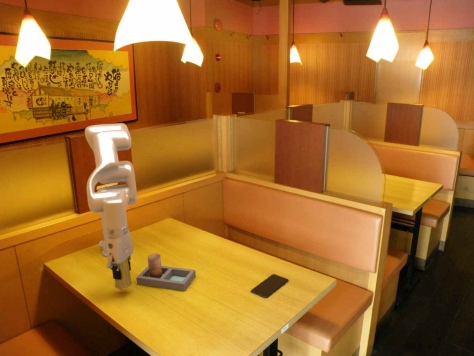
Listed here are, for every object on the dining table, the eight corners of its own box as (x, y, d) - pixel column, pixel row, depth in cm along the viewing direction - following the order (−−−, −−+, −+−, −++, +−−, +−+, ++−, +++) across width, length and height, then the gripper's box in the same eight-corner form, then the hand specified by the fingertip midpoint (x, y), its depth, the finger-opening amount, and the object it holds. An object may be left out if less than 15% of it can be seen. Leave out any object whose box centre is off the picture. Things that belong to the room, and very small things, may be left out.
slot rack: (136, 284, 151) (136, 277, 151) (150, 270, 161) (149, 264, 161) (184, 291, 146) (184, 284, 145) (195, 276, 156) (195, 270, 155)
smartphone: (266, 300, 139) (289, 281, 151) (266, 298, 139) (289, 279, 151) (249, 292, 144) (273, 275, 156) (249, 290, 144) (273, 273, 156)
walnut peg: (147, 281, 153) (145, 258, 151) (153, 275, 158) (151, 253, 155) (158, 282, 152) (156, 260, 149) (164, 276, 156) (162, 254, 154)
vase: (127, 290, 141) (123, 255, 137) (111, 288, 142) (107, 254, 138) (134, 281, 147) (131, 247, 143) (119, 279, 148) (115, 246, 144)
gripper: (112, 242, 129) (118, 288, 134) (138, 222, 145) (142, 264, 150) (93, 239, 131) (99, 285, 136) (121, 220, 147) (126, 262, 152)
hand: (122, 274), depth 143 cm, fingers closed on vase, 5 cm apart
